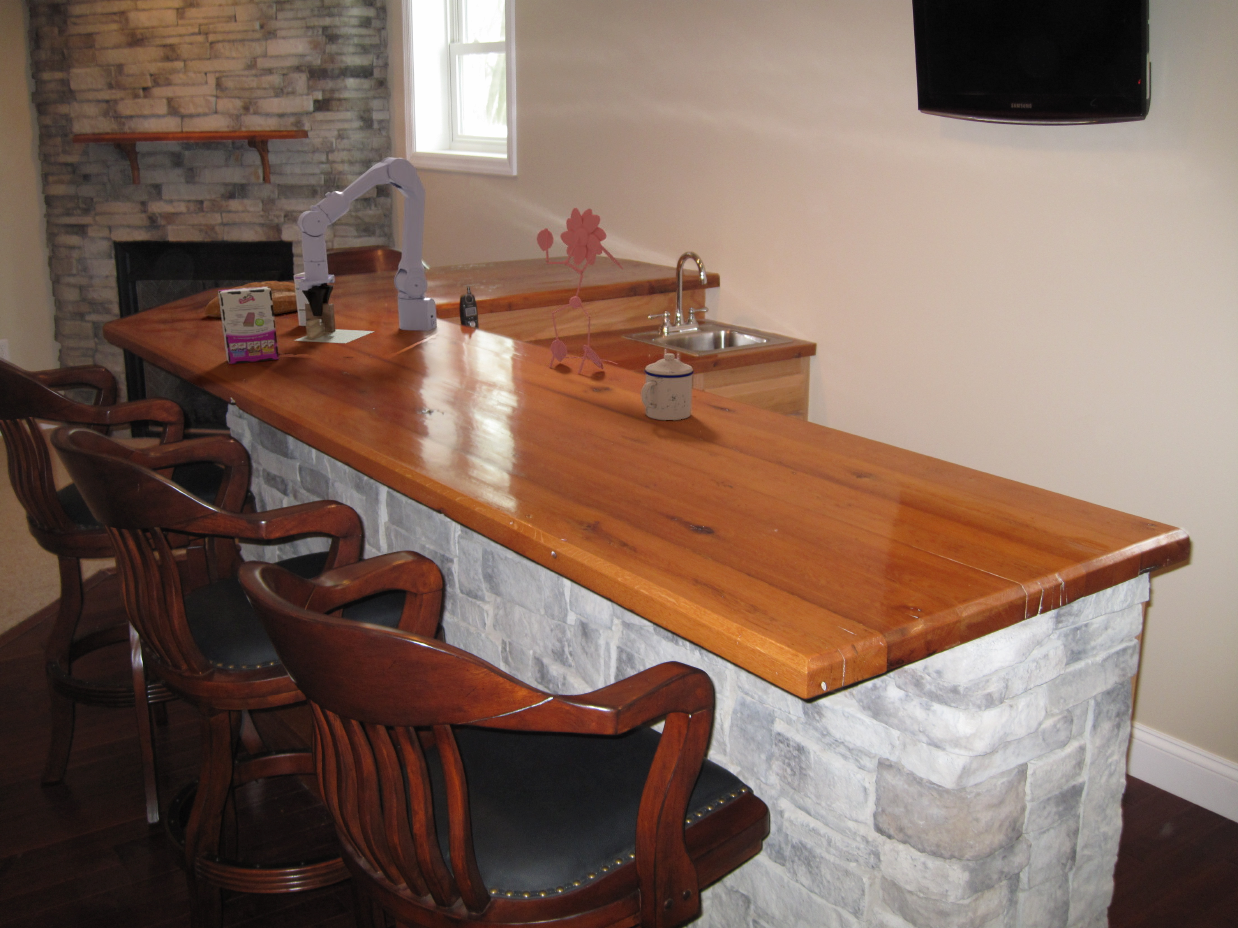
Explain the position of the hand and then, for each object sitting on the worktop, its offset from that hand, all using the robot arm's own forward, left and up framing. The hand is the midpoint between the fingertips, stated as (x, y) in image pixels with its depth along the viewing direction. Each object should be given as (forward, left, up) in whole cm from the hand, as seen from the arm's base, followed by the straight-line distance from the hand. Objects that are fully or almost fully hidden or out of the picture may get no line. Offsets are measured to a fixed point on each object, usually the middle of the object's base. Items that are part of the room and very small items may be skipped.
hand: (319, 315), depth 257 cm
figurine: (-73, +14, -6) cm, 75 cm away
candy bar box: (+3, +27, -6) cm, 28 cm away
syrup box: (+10, -14, -6) cm, 18 cm away
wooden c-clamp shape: (0, 0, -4) cm, 4 cm away
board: (-3, 0, -6) cm, 7 cm away
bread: (+36, -33, -6) cm, 49 cm away
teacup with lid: (-98, +52, -6) cm, 111 cm away
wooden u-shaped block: (0, 0, -5) cm, 5 cm away
